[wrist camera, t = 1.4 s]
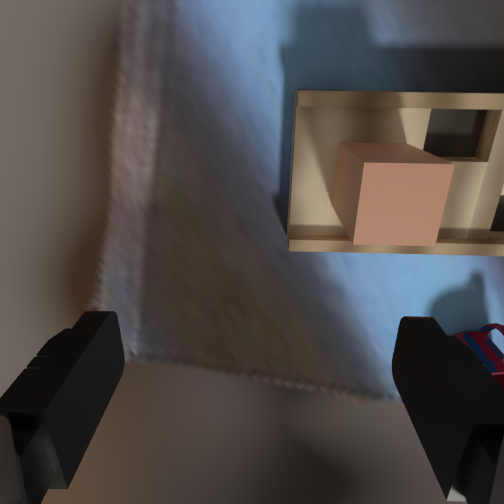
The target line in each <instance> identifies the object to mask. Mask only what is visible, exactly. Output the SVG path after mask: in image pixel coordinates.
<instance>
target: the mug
mask: <svg viewBox="0 0 504 504" xmlns="http://www.w3.org/2000/svg"><path fill="white" fill-rule="evenodd" d="M495 328H496V329H498V330H499V331H500V332H501V333H502V334H503V335H504V326H503V325H500V324H497V323H495V324H487V325H485V326H483V327H482V328H481V329H480V330H479V331H478V332H462V333H459V334H456V335H454V336H455V337H456V338H458V339H459V340H460V341H462V342H463V343H465V344H466V345H467V346H469V347H470V348H472V350H473V351H474V352H475V354H476V355H477V356H478V357H479V359H480V360H481V361H482V362H483V366H486V368H487V369H488V370H489V371H490V373H491V374H492V375H493V379H496V380H497V381H498V383H499V384H500V385H501V387H502V388H503V389H504V354H503V353H502V352H501V351H500V350H499V349H498V347H497V346H496V345H495V344H494V343H493V342H492V341H491V339H490V338H489V337H488V336H487V335H488V333H489V332H490V331H491V330H493V329H495Z"/></svg>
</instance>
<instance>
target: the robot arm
mask: <svg viewBox="0 0 504 504" xmlns="http://www.w3.org/2000/svg"><path fill="white" fill-rule="evenodd" d="M124 362H125V357H124V350H123V344H122V339H121V333H120V328H119V322H118V317H117V314H116V313H115V312H114V311H86V312H84V313H83V315H82V316H81V317H80V318H79V320H78V321H77V322H76V324H75V325H74V326H73V328H72V329H64V330H63V331H61V332H60V333H58V334H57V335H55V336H54V337H52V338H51V339H49V340H48V341H47V342H46V344H45V345H44V346H43V347H42V348H41V350H40V351H39V352H38V353H37V356H36V357H34V358H33V359H32V360H31V362H30V363H29V364H28V365H27V369H24V370H23V371H22V373H21V374H20V375H19V376H18V377H17V379H16V380H15V381H14V382H13V383H12V385H11V386H10V387H9V388H8V389H7V391H6V392H5V393H4V394H3V396H2V397H1V398H0V504H41V502H42V500H43V498H44V496H45V494H46V493H47V491H48V489H68V487H69V485H70V483H71V481H72V479H73V477H74V475H75V473H76V471H77V468H78V467H79V464H80V462H81V460H82V458H83V456H84V454H85V452H86V450H87V448H88V446H89V444H90V441H91V439H92V437H93V435H94V433H95V431H96V429H97V427H98V425H99V423H100V421H101V418H102V416H103V414H104V412H105V410H106V407H107V406H108V404H109V402H110V400H111V397H112V395H113V393H114V391H115V389H116V387H117V385H118V383H119V381H120V379H121V376H122V373H123V369H124ZM392 374H393V379H394V383H395V385H396V387H397V390H398V392H399V394H400V396H401V399H402V401H403V403H404V405H405V408H406V410H407V412H408V414H409V416H410V419H411V421H412V423H413V426H414V428H415V430H416V433H417V435H418V437H419V439H420V442H421V444H422V446H423V448H424V450H425V453H426V455H427V457H428V459H429V462H430V464H431V467H432V469H433V471H434V473H435V476H436V478H437V480H438V482H439V485H440V487H441V489H442V491H443V493H444V496H445V498H446V500H447V501H467V503H468V504H504V389H503V388H502V387H501V385H500V384H499V383H498V381H497V380H496V379H493V375H492V374H491V373H490V371H489V370H488V369H487V368H486V366H483V362H482V361H481V360H480V359H479V357H478V356H477V355H476V354H475V352H474V351H473V350H472V348H470V347H469V346H467V345H466V344H465V343H463V342H462V341H460V340H459V339H458V338H456V337H455V336H449V335H446V334H445V332H444V331H443V329H442V328H441V327H440V325H439V324H438V323H437V321H436V320H435V319H434V318H433V317H411V316H404V317H402V319H401V321H400V324H399V329H398V333H397V338H396V343H395V348H394V353H393V358H392Z"/></svg>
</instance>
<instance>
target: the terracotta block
mask: <svg viewBox="0 0 504 504" xmlns="http://www.w3.org/2000/svg"><path fill="white" fill-rule="evenodd" d="M454 165H455V164H453V163H451V162H449V161H446V160H444V159H442V158H439V157H437V156H435V155H433V154H430V153H428V152H426V151H423V150H421V149H419V148H416V147H414V146H412V145H409V144H407V143H350V142H339V150H338V159H337V168H336V178H335V187H334V196H333V205H332V207H333V209H334V211H335V213H336V215H337V216H338V218H339V220H340V222H341V224H342V225H343V227H344V229H345V231H346V233H347V235H348V236H349V238H350V240H351V242H352V244H353V245H396V246H435V244H436V240H437V236H438V232H439V228H440V223H441V219H442V215H443V211H444V207H445V203H446V199H447V194H448V190H449V186H450V182H451V178H452V174H453V170H454Z"/></svg>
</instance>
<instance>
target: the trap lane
mask: <svg viewBox="0 0 504 504" xmlns="http://www.w3.org/2000/svg"><path fill="white" fill-rule="evenodd" d="M339 142H350V143H407V144H409V145H412V146H414V147H416V148H419V149H421V150H423V151H426V152H428V153H430V154H433V155H435V156H437V157H439V158H442V159H444V160H446V161H449V162H451V163H453V164H455V165H454V170H453V174H452V178H451V182H450V186H449V190H448V194H447V199H446V203H445V207H444V211H443V215H442V219H441V223H440V228H439V232H438V236H437V240H436V244H435V246H396V245H353V244H352V242H351V240H350V238H349V236H348V235H347V233H346V231H345V229H344V227H343V225H342V224H341V222H340V220H339V218H338V216H337V215H336V213H335V211H334V209H333V207H332V205H333V196H334V187H335V178H336V168H337V159H338V150H339ZM287 242H288V248H289V251H310V252H353V253H395V254H438V255H481V256H504V93H481V92H413V91H346V90H295V100H294V118H293V135H292V153H291V170H290V188H289V206H288V223H287Z"/></svg>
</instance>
